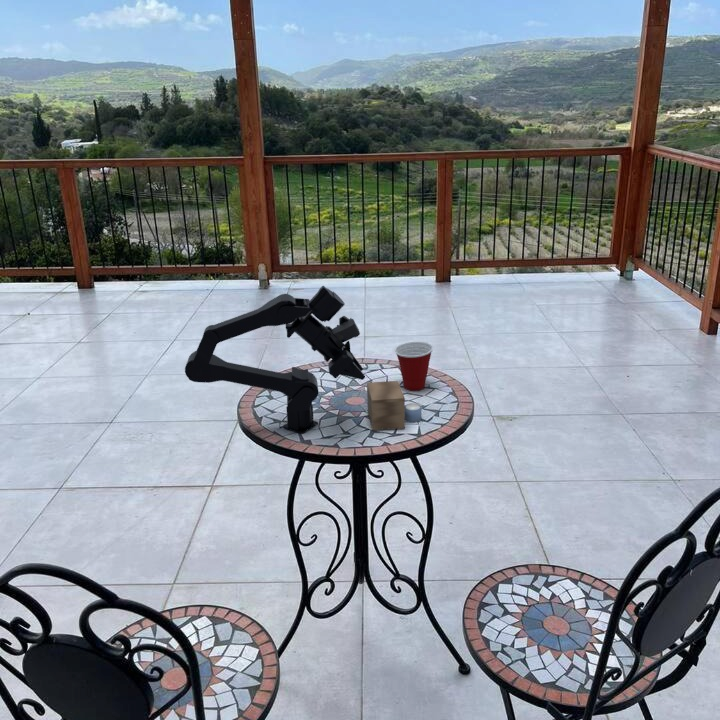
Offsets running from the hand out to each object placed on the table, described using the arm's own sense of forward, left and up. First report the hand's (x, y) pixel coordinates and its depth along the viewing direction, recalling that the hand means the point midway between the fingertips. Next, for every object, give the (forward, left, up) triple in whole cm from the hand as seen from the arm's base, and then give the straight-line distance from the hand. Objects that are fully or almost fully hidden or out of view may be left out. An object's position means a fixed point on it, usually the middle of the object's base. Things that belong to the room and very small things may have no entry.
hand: (362, 374), depth 167 cm
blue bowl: (+8, -10, -13) cm, 18 cm away
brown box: (+3, -4, -13) cm, 14 cm away
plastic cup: (+26, 0, -13) cm, 29 cm away
